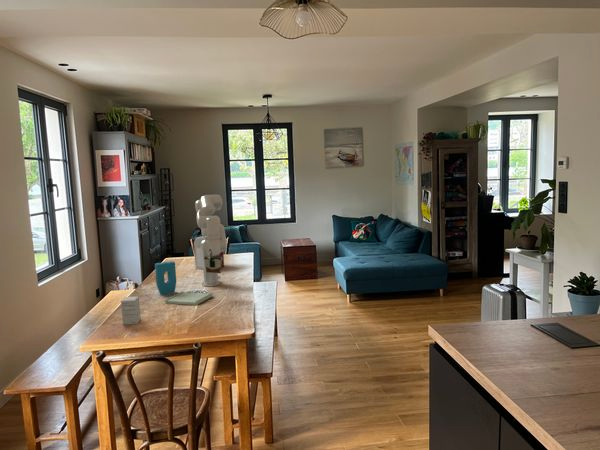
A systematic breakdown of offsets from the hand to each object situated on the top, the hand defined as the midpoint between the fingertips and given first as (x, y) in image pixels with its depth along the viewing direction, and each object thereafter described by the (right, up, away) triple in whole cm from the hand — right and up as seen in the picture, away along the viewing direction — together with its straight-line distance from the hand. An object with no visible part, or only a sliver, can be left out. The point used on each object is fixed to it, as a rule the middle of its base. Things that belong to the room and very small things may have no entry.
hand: (215, 265), depth 272 cm
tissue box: (-21, -10, +90) cm, 93 cm away
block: (-34, -19, +14) cm, 41 cm away
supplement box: (-35, -26, -42) cm, 60 cm away
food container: (0, -4, 0) cm, 4 cm away
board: (-15, -20, -4) cm, 25 cm away
